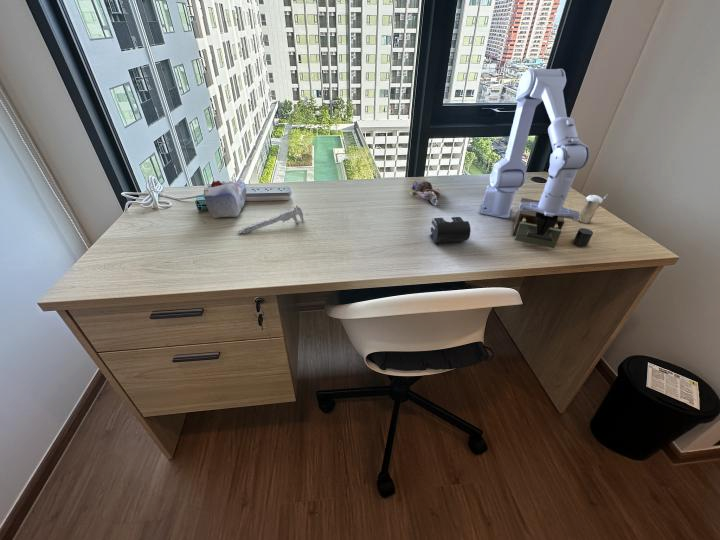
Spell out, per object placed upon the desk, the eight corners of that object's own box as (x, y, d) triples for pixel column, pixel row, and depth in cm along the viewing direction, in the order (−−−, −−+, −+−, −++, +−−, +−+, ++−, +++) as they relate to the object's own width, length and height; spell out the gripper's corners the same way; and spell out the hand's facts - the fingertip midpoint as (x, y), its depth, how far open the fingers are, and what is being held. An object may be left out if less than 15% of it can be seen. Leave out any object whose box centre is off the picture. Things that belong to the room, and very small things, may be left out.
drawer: (554, 256, 93) (562, 239, 89) (513, 247, 96) (519, 230, 93) (553, 230, 105) (560, 214, 101) (516, 223, 108) (522, 207, 105)
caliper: (302, 221, 110) (301, 203, 106) (303, 222, 109) (302, 205, 105) (239, 232, 103) (234, 214, 99) (239, 234, 102) (235, 216, 98)
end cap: (435, 248, 97) (438, 227, 93) (428, 235, 103) (431, 216, 99) (467, 246, 98) (472, 226, 94) (459, 234, 104) (463, 214, 100)
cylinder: (573, 245, 99) (579, 232, 97) (572, 239, 102) (578, 226, 100) (587, 248, 98) (594, 235, 96) (586, 242, 101) (592, 229, 98)
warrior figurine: (403, 189, 132) (420, 209, 118) (405, 177, 129) (422, 196, 115) (431, 187, 134) (451, 206, 121) (433, 175, 131) (453, 194, 118)
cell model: (198, 191, 101) (204, 170, 117) (207, 223, 107) (211, 199, 123) (242, 187, 104) (242, 167, 120) (249, 218, 110) (248, 195, 126)
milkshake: (596, 225, 110) (610, 197, 104) (579, 223, 111) (591, 195, 105) (591, 218, 114) (604, 191, 108) (574, 217, 114) (587, 190, 108)
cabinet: (554, 244, 100) (564, 221, 95) (512, 235, 104) (519, 213, 99) (553, 225, 109) (562, 204, 105) (515, 218, 113) (521, 197, 109)
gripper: (525, 193, 86) (510, 238, 94) (588, 203, 81) (567, 250, 89) (526, 183, 91) (511, 227, 99) (585, 193, 86) (565, 237, 94)
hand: (538, 237), depth 94 cm, fingers closed, pressing on drawer
